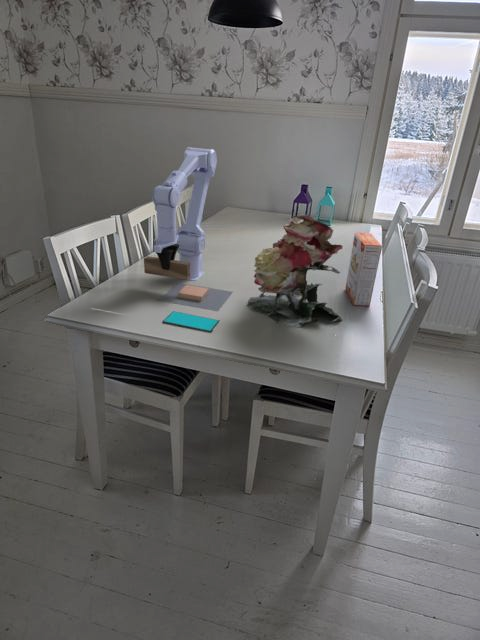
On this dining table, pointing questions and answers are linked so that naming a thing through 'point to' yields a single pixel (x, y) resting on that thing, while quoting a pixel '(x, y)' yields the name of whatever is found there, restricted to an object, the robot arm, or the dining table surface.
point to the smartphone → (191, 321)
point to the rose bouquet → (293, 272)
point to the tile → (193, 293)
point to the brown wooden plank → (175, 270)
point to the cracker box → (363, 268)
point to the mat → (210, 302)
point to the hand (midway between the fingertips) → (167, 267)
